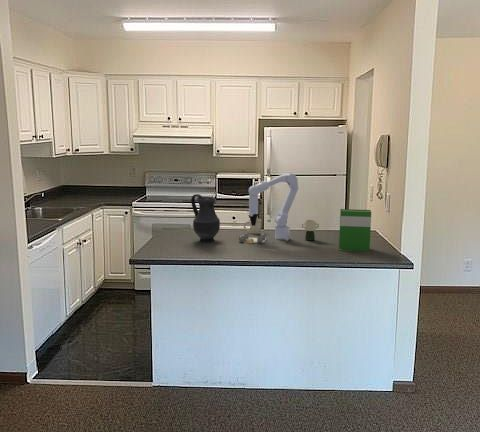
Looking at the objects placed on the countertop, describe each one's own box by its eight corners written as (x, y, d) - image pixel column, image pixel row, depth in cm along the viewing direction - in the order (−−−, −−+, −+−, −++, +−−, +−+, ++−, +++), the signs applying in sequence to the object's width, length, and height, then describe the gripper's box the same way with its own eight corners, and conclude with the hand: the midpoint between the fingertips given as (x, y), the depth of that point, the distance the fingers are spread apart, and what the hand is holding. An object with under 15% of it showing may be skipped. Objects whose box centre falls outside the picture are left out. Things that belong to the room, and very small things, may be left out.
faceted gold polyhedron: (254, 242, 317) (254, 238, 316) (251, 243, 312) (251, 240, 312) (248, 241, 318) (248, 238, 318) (245, 243, 314) (245, 239, 314)
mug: (260, 235, 341) (260, 220, 339) (242, 234, 343) (242, 220, 341) (262, 232, 349) (262, 218, 347) (244, 232, 351) (244, 218, 349)
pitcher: (207, 245, 312) (207, 197, 306) (183, 240, 324) (182, 195, 319) (225, 240, 325) (225, 194, 320) (201, 236, 338) (200, 192, 332)
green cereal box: (339, 250, 300) (340, 211, 296) (339, 247, 307) (340, 209, 303) (369, 251, 297) (371, 211, 293) (368, 248, 304) (370, 209, 300)
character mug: (318, 239, 330) (318, 219, 327) (318, 241, 323) (319, 221, 320) (301, 238, 331) (302, 219, 329) (301, 241, 324) (302, 221, 322)
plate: (266, 239, 327) (266, 238, 327) (261, 245, 312) (261, 244, 312) (244, 238, 331) (244, 237, 331) (238, 243, 316) (238, 242, 316)
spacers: (266, 239, 326) (266, 233, 325) (261, 244, 312) (261, 238, 312) (244, 237, 330) (244, 232, 329) (238, 242, 316) (238, 237, 315)
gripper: (250, 202, 330) (250, 222, 332) (244, 206, 316) (244, 227, 318) (260, 203, 328) (260, 223, 330) (255, 206, 314) (255, 227, 317)
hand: (253, 225), depth 324 cm, fingers closed
